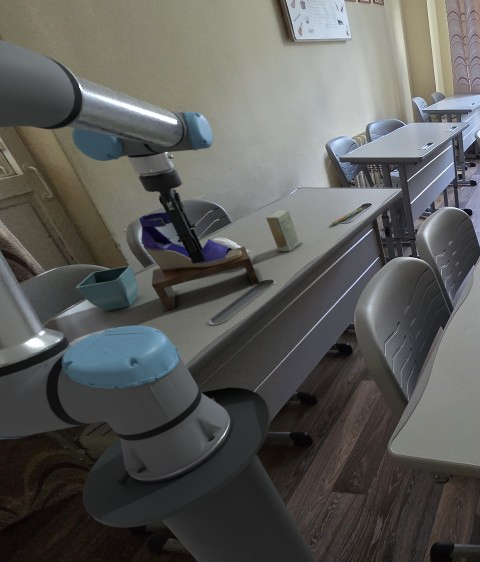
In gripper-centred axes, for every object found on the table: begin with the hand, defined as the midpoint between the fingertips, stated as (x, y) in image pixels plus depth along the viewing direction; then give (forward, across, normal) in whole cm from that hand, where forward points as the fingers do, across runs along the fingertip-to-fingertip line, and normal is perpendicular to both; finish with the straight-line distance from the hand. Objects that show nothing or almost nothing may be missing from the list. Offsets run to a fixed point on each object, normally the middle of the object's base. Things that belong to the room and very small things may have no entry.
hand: (198, 256), depth 108 cm
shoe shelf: (+10, 0, 0) cm, 10 cm away
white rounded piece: (+6, +13, -8) cm, 16 cm away
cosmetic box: (+11, +15, -23) cm, 29 cm away
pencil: (+10, +29, -47) cm, 56 cm away
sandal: (+2, +1, 0) cm, 2 cm away
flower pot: (+10, +7, +21) cm, 24 cm away
